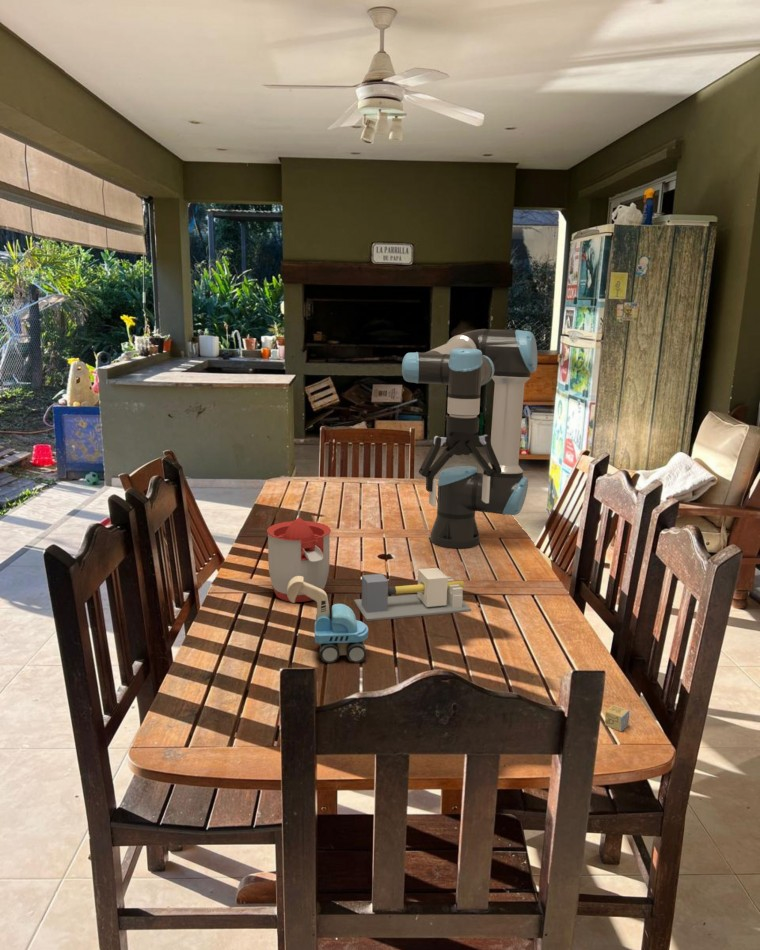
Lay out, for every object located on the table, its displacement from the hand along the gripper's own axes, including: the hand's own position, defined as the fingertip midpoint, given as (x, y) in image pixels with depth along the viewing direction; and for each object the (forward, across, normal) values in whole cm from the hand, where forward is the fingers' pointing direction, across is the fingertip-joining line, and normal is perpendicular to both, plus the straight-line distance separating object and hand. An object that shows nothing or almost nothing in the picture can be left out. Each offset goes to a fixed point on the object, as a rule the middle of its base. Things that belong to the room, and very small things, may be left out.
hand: (459, 503), depth 182 cm
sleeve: (+24, +6, +1) cm, 25 cm away
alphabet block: (+26, -8, +60) cm, 65 cm away
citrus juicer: (+25, +36, -12) cm, 46 cm away
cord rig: (+25, +11, +1) cm, 27 cm away
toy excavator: (+26, +36, +21) cm, 49 cm away
